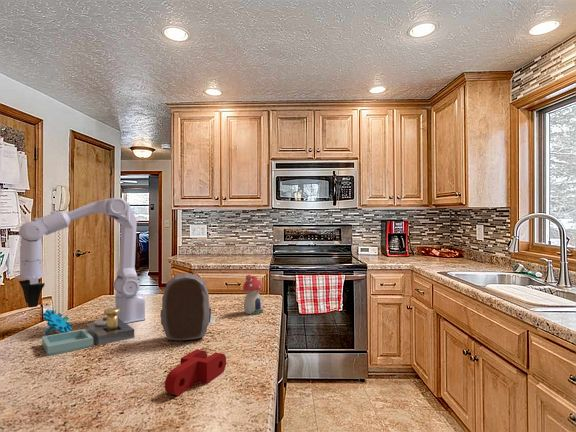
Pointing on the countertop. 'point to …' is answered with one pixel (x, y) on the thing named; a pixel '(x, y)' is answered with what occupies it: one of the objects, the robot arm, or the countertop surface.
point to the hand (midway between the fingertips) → (31, 304)
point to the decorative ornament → (252, 295)
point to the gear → (56, 322)
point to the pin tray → (66, 342)
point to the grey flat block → (102, 336)
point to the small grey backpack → (185, 308)
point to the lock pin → (112, 318)
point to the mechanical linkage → (194, 371)
